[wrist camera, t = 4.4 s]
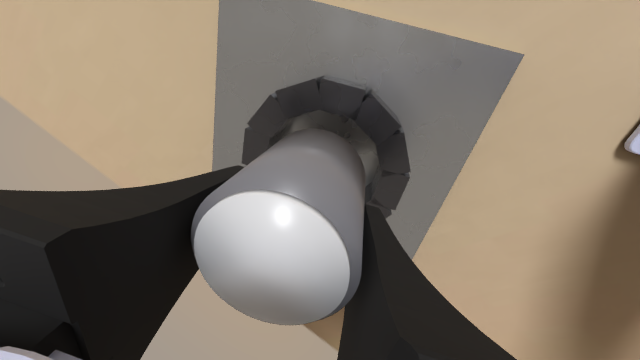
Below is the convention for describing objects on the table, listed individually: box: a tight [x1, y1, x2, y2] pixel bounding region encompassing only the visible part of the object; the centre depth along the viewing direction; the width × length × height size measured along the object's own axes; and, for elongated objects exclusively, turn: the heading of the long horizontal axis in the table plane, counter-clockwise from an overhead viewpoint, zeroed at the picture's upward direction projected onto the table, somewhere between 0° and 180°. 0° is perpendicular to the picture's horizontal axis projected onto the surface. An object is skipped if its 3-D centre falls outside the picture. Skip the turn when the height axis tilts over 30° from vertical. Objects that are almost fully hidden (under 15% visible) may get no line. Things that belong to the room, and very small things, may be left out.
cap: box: [191, 128, 366, 325], centre depth 10 cm, size 5×5×6 cm
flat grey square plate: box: [212, 0, 524, 260], centre depth 16 cm, size 16×16×3 cm
